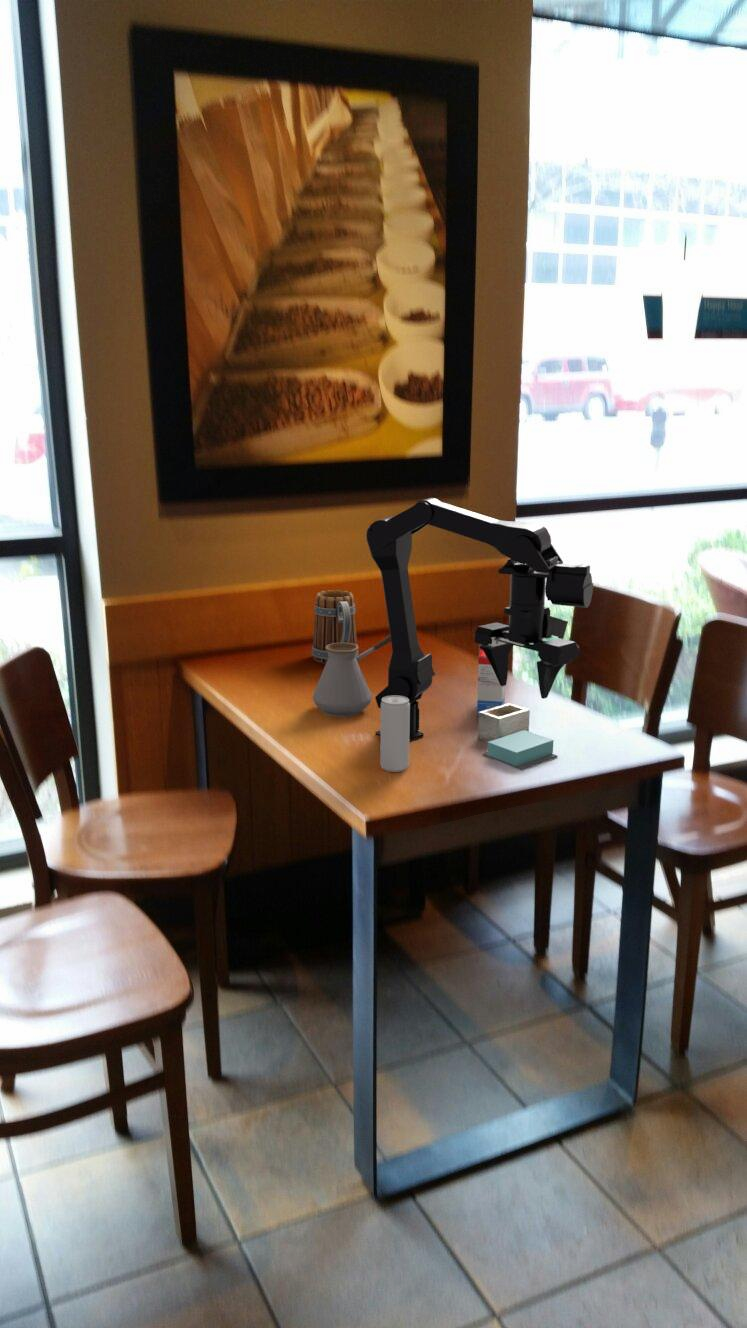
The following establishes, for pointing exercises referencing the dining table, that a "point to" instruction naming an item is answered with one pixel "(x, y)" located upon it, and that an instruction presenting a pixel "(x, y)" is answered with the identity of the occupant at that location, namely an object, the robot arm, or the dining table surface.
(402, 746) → the beverage can
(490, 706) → the ink box
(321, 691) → the coffee pot
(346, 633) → the mug
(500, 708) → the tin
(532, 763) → the coaster
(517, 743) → the lid
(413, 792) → the dining table surface
